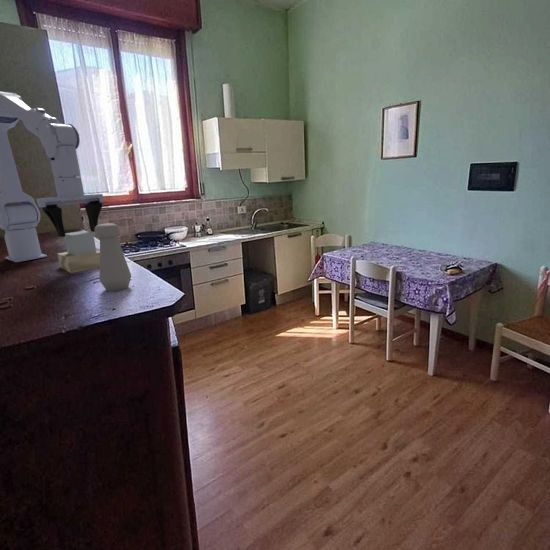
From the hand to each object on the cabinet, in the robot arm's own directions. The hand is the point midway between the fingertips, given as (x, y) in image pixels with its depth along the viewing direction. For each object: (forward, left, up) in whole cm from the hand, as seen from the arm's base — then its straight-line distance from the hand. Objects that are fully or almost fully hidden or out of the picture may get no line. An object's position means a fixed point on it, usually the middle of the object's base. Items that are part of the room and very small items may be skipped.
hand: (78, 233), depth 89 cm
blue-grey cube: (0, 0, -5) cm, 5 cm away
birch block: (0, 0, -9) cm, 9 cm away
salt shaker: (+26, -5, -9) cm, 28 cm away
